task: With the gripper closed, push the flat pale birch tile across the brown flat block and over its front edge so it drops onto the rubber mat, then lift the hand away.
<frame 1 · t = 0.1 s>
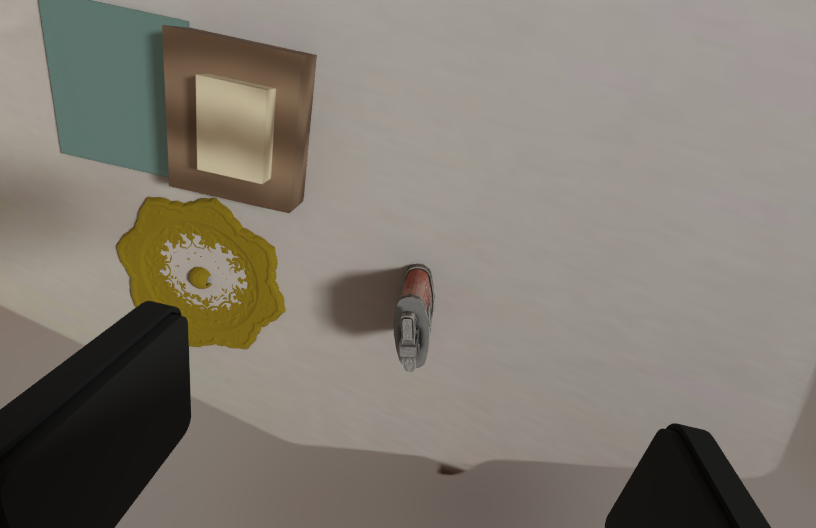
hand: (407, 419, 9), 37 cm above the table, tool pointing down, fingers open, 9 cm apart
mat: (122, 91, 44), on the table
lighter: (419, 295, 50), on the table
brown flat block: (249, 120, 44), on the table
decorative medallion: (204, 275, 53), on the table
tile: (240, 128, 40), point 4 cm above the table, touching brown flat block
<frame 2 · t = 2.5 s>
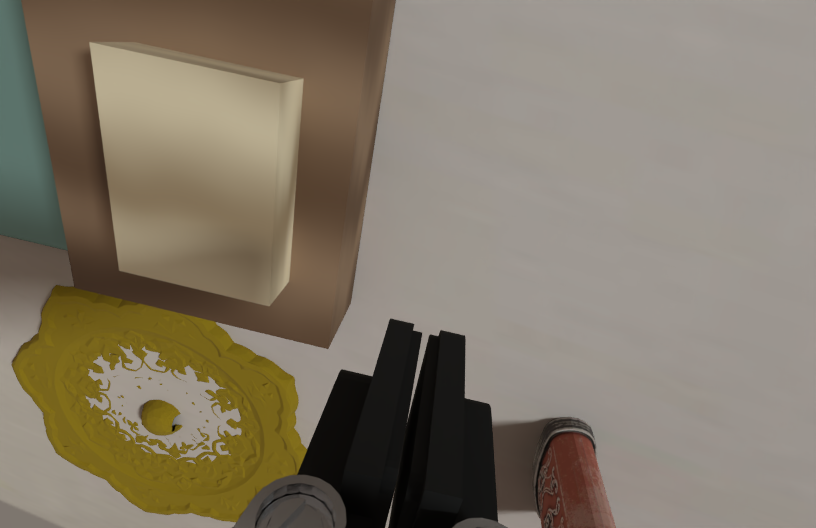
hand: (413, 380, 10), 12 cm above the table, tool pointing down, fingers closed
lighter: (561, 465, 27), on the table
brown flat block: (243, 146, 21), on the table
decorative medallion: (169, 409, 30), on the table
tile: (219, 173, 17), point 4 cm above the table, touching brown flat block
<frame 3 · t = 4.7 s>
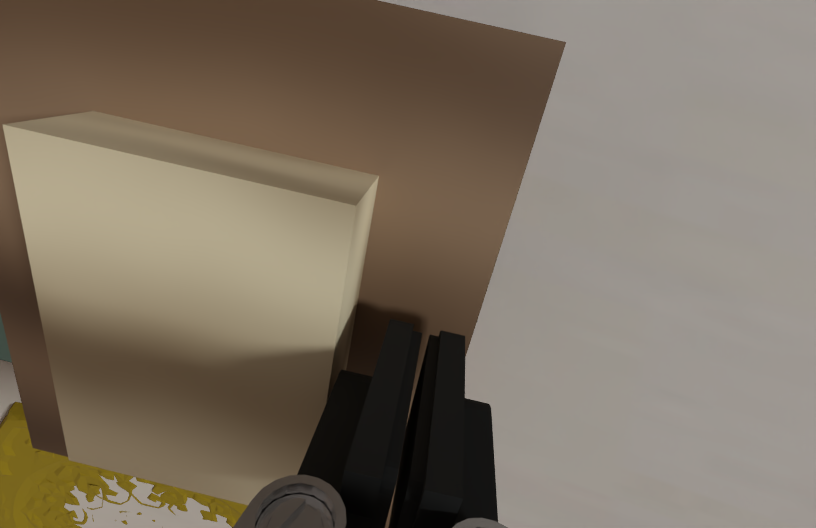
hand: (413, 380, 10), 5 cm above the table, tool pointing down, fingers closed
brown flat block: (282, 243, 14), on the table
tile: (231, 308, 11), point 4 cm above the table, touching brown flat block
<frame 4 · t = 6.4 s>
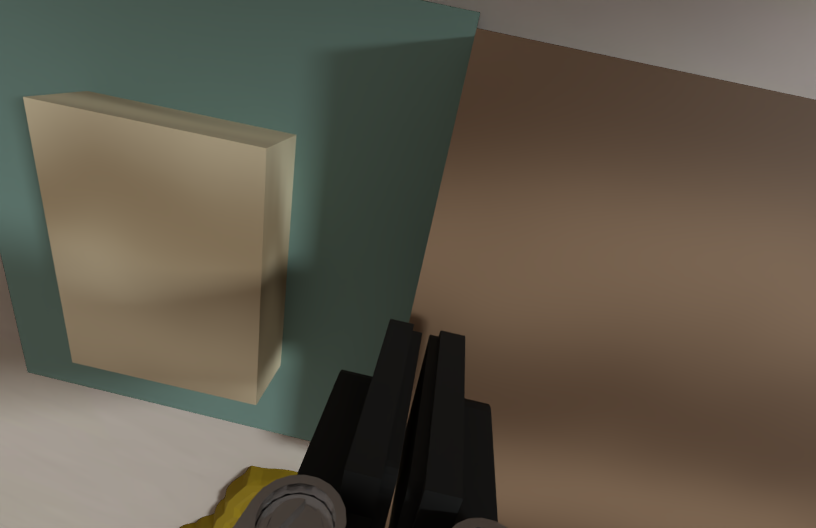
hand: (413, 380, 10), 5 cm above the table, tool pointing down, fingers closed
mat: (207, 230, 15), on the table
brown flat block: (605, 321, 14), on the table
tile: (154, 271, 12), point 3 cm above the table, tilted 180°, touching mat
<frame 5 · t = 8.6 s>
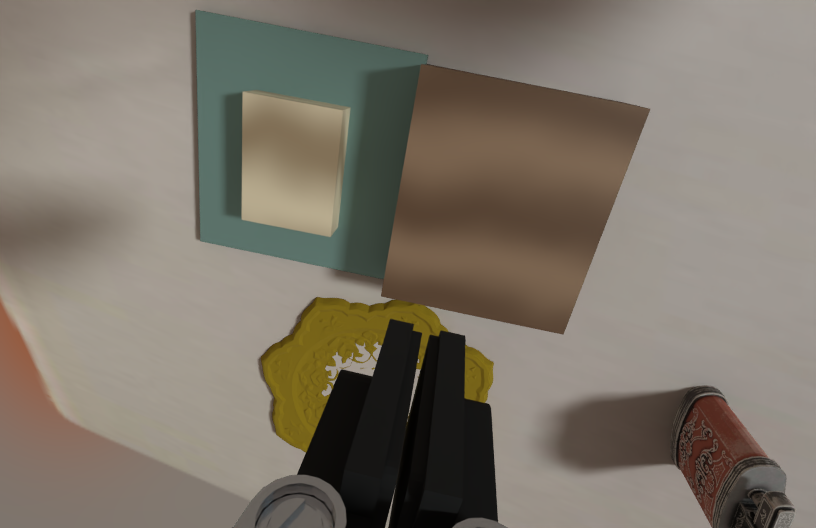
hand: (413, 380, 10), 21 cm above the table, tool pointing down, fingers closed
mat: (304, 156, 30), on the table
lighter: (694, 424, 36), on the table
brown flat block: (495, 195, 30), on the table
decorative medallion: (377, 394, 38), on the table
tile: (289, 168, 28), point 3 cm above the table, tilted 180°, touching mat
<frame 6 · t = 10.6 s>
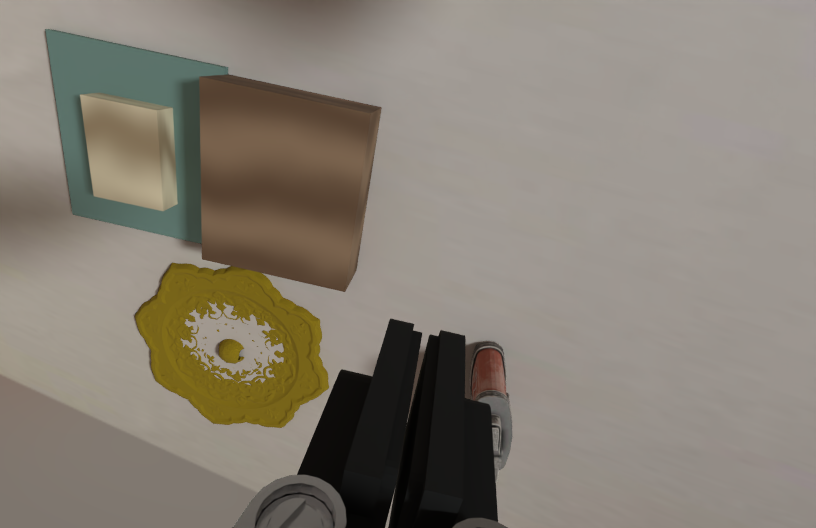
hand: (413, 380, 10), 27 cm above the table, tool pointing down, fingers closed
mat: (145, 146, 37), on the table
lighter: (487, 375, 43), on the table
brown flat block: (296, 180, 37), on the table
decorative medallion: (235, 347, 46), on the table
tile: (123, 155, 35), point 3 cm above the table, tilted 180°, touching mat
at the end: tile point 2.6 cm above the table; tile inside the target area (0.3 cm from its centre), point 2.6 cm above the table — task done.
